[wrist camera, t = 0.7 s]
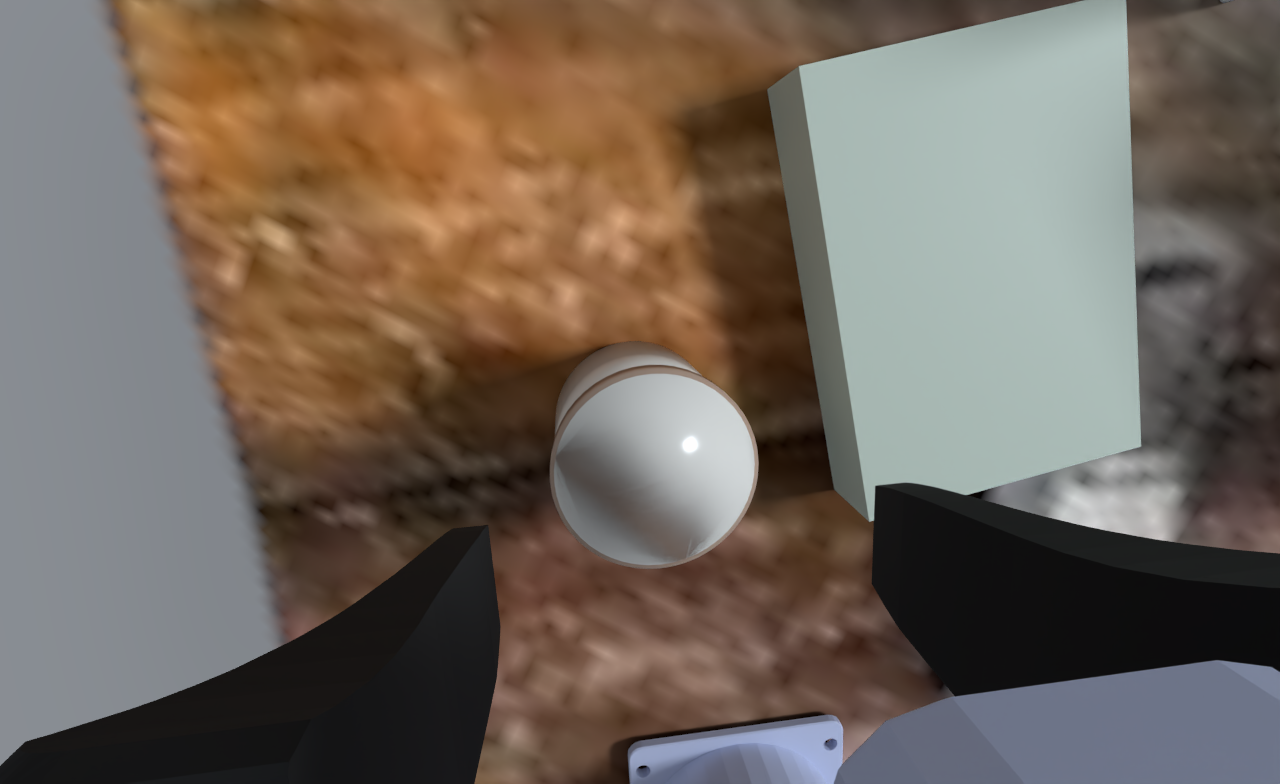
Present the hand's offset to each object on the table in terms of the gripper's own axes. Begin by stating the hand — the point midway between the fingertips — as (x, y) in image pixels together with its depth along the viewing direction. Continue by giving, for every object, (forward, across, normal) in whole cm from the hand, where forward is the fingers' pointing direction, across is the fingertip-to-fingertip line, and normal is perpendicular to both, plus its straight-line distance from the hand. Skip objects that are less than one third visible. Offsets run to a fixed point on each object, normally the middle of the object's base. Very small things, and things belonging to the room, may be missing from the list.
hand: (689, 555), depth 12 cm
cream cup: (+9, 0, 0) cm, 9 cm away
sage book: (+10, -10, -4) cm, 15 cm away
